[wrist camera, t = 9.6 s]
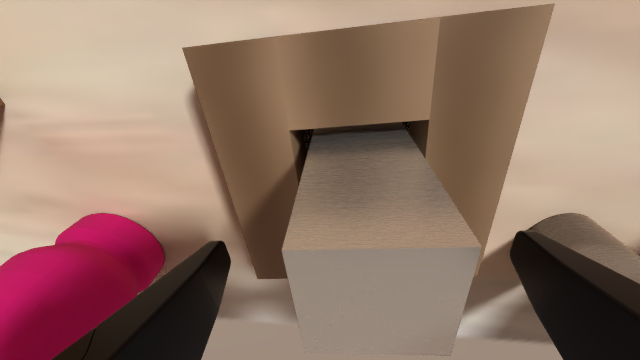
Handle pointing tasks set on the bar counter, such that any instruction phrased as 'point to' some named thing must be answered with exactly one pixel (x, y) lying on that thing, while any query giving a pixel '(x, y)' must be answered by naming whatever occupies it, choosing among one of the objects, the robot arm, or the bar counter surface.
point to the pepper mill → (73, 284)
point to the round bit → (591, 242)
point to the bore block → (369, 108)
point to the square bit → (376, 247)
